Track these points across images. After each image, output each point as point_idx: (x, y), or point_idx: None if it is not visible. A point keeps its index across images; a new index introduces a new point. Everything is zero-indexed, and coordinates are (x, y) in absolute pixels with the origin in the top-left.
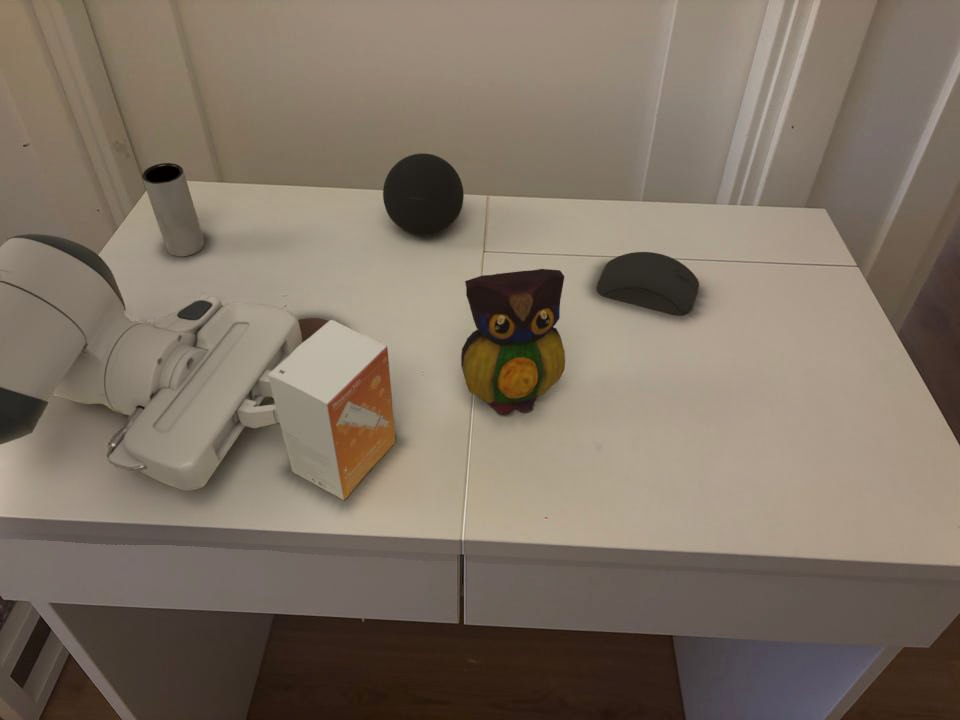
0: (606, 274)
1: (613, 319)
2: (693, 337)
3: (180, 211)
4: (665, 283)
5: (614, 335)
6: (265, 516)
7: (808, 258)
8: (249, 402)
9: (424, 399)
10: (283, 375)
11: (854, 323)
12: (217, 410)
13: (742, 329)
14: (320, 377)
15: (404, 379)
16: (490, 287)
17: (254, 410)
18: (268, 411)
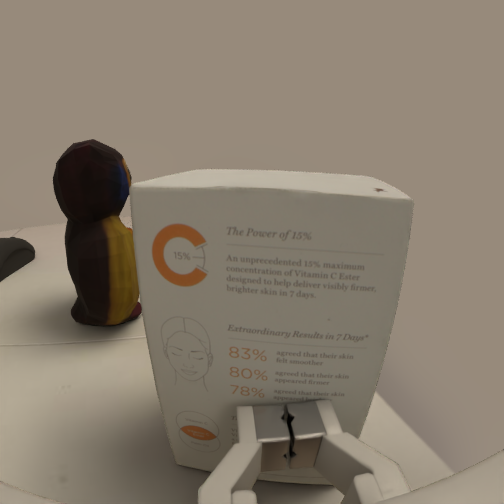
0: None
1: (25, 278)
2: (56, 254)
3: None
4: (18, 239)
5: (42, 276)
6: (425, 463)
7: (10, 234)
8: (368, 491)
9: (116, 378)
10: (384, 187)
11: (63, 226)
12: (478, 494)
13: (55, 244)
14: (332, 175)
15: (76, 404)
16: (95, 141)
17: (381, 462)
18: (356, 438)
